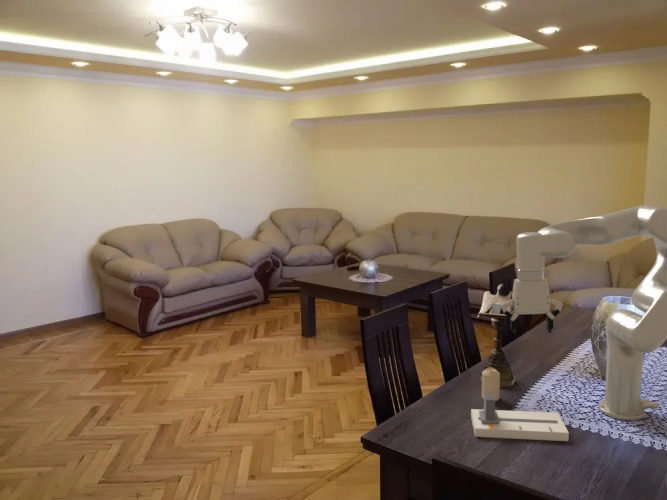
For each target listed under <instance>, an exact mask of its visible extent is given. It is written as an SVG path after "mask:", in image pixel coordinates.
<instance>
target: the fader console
mask: <svg viewBox="0 0 667 500" xmlns="http://www.w3.org/2000/svg"><path fill="white" fill-rule="evenodd" d="M479 410H480V411H484V409H476V408H471V409H470V418H471V424H472V428H473V433H474V437H478V438H479V437H480V438H492V439H493V438H497V439H512V440H513V439H516V440H517V439H518V440H537V441H555V442H556V441H560V442H569V440H570V439H569V437H570V436H569V435H570V432H569V431H568V428H567V427H566V425H565V423H564V421H563V419H562V417H561V416H560V414H559V413H558V412H548V411H546V412H545V411H527V410H526V411H525V410H501V409H500V410H499V409H495V411H497V414H498V418H499V423H481V419H480V415H479Z"/></svg>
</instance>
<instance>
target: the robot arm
mask: <svg viewBox="0 0 667 500" xmlns="http://www.w3.org/2000/svg"><path fill="white" fill-rule="evenodd" d="M641 236H647V237H652V238H653V243H654V247H655V249H656V257H655V262H654V264H653V266H652V267H651V268H650V270H649V271H648V272H647V274H646V275H645V277H643V279H642V281H641V282H640V283H639V284H638V285H637V287H636V288H635V289H634V291H633V292H632V294H631V302H632V305H633V306H634V307H635V308H636V309H638V310H640V311H641V312H644V313H643V315H641V314H639V313H637V312H635V311H632V310H630V309H624V308H622V309H616V310H614V311H612V312H611V313H610V314H609V315H608V316H607V318H606V320H605V321H606V322H605V334H606V343H607V345H606V346H607V351H606V352H607V354H606V369H605V371H606V372H605V373H606V374H605V386H604V387H605V389H604V399H603V400H601V401H600V402H598V410H600V412H601V413H603V414H605V415H607V416H608V417H612V418H614V419H617V420H624V421H639V420H641V419H644V418H645V417H646V410H647V409H651V410H653V409H654V410H655V409H658V408H659V404H658V402H656V401H650V399H647V398H646V399H645V398H644V399H643V398H642V397H641V396H642V381H643V379H642V378H643V366H644V354H645V353H646V354H647V353H652V352H655V351H656V350H658V349H659V348H660V347H661V346H662V345H663V344H664V343H665V342H666V340H667V208H666V207H662V206H655V205H648V204H645V205H644V204H641V205H637V206H636V205H635V206H633V207H629V208H624V209H621V210H618V211H615V212H609V213H605V214H603V215H597V216H592V217H591V216H590V217H585V218H580V219H573V220H568V221H562V222H559V223H555V224H550V225H548V226H545V227H543V228H540V229H539V230H538V231H535V232H534V231H527V232H526V231H525V232H522V233H519V234H517V236H516V240H515V241H516V243H515V244H516V277H517V278H515V279H513V286H512V293H513V295H512V299H511V300H509V301H507V302H506V303H504V304H502V305H501V308H502V310H503V311H502V313H503V314H505V315H506V316H507V317H506V318H509V319H510V330H511V331H512V332H513V334H515V335H517V334H518V320H517V319H518V317H519V316H520V315H543V314H544V315H545V314H546V315H547V316H546V318H545V319H546V320H545V322H546V323H545V324H546V327H545V328H546V329H545V330H546V331H547V332H548V333H549V334H552V330H553V329H554V320H555V318H556V317H557V316H558V315H559V314H560V313H561V312H560V311H561V310H562V308H563V307H564V304H563V302H561V301H559V300H556V299H554V298H551V293H550V287H549V282H548V279H547V278H546V277H547V276H550V275H551V270H548V269H546V266H545V258H560V259H561V258H566V257H569V256H570V255H572V254H573V253H574V252H575V250H576V248H577V245H593V246H601V245H612V244H615V243H618V242H621V241H625V240H629V239H630V240H631V239H633V238H637V237H641ZM551 304H552V305H554V306H555V308H554V309H553V310H552V311H551V307H552V305H551ZM511 305H512V307H513V309H514V310H513V311H512V313H510V312H509V311H508V310H507V308H508V307H509V306H511Z"/></svg>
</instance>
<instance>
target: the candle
mask: <svg viewBox="0 0 667 500" xmlns="http://www.w3.org/2000/svg"><path fill="white" fill-rule="evenodd" d="M482 371H483V370H482ZM482 371H481V373H482V381H481V399H482V400H484V392H489V393H493V395H494V398H495V402H497V401H499V400H500V388H501V387H500V373H499V372H498V371H497V370H496V369H494V368H493V367H491V368H487V369H485V370H484V371H483V372H482Z"/></svg>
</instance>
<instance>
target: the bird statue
mask: <svg viewBox="0 0 667 500" xmlns="http://www.w3.org/2000/svg"><path fill="white" fill-rule="evenodd" d="M503 289H504V283H500V284H499V285H498V286H497V292H496V294H493V293H491V291H489V290H487V291H485V292H484V294H483V299H482V304H481V307H480V310H479V312H478V313H477V314H478V315H477V317H476V319H478V318H480V317H481V316H483V317H485V318H490V321H491V326H492V327H493V328H494V338H493V340H494V343H493V345H494V348H493V349H492V350H491V351H490V356H489V358H488V359H487V360H486V362H485V363H484V367H483V370H482V371H481V373H480V375H479V381H480V382H482V372H483V371H484V370H485V369H487V368H491V367H493V368H494V369H496V370H497V371H498V372H499V373H500V388H506V387H512V386H513V385H514V383H516V376H515V375H514V373H513V371H512V368H511V365H510V362H508V359H507V357H506V353H505V351H504V350H503V349H502V342H503V341H504V340H503V334H502V332H503V329H504V328H505V327H506V322H507V318H508V317H507V316H506V315H505V313H504V312H503V310H502V308H501V305H502V304H504V303H506V302H507V301H509V300H511V299H512V295H513V292H512V290H510V291H509V293H508V295H504V294H503ZM490 309H491V310H490ZM507 310H508V311H509V312H510V313H512V311H513V310H514V309H513V307H512V305H511V306H509V307H508V308H507ZM488 311H489V312H488Z"/></svg>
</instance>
